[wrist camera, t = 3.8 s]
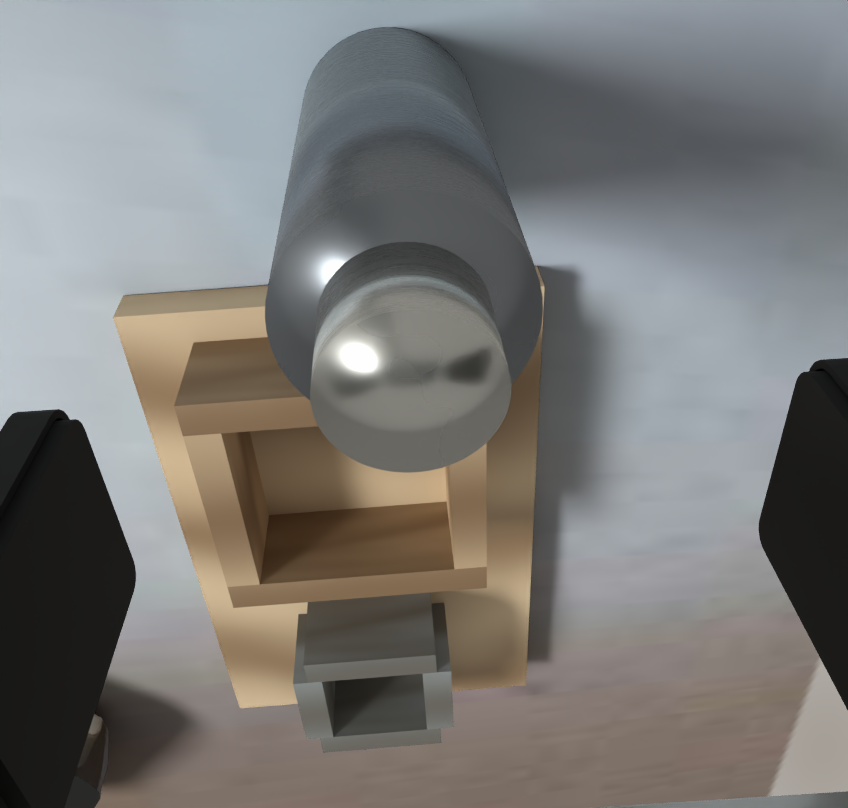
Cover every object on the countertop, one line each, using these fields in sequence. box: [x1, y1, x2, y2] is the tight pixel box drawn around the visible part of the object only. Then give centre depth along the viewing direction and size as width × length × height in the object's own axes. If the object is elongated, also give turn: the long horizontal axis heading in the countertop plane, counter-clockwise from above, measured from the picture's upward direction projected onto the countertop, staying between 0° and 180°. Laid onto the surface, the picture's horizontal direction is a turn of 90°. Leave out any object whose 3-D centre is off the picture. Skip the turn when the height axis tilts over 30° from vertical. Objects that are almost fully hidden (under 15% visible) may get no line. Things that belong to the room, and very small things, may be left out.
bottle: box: [265, 27, 543, 473], centre depth 16 cm, size 4×4×12 cm
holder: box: [113, 266, 545, 753], centre depth 28 cm, size 19×12×4 cm, turn 3°
